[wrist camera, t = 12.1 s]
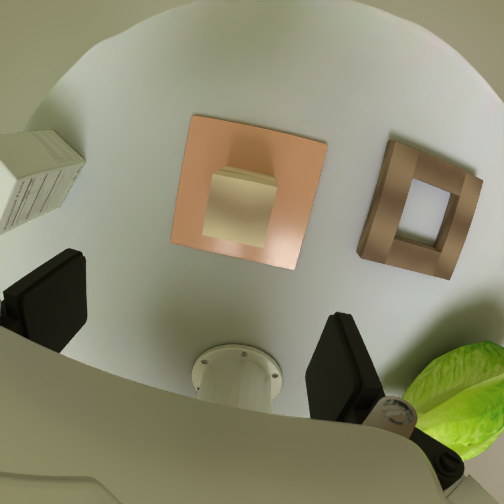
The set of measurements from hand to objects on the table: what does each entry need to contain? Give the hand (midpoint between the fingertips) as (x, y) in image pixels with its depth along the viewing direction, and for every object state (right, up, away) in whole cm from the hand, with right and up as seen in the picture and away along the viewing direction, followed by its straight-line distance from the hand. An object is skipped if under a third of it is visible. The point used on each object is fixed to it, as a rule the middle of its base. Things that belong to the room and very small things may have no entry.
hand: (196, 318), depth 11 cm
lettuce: (+31, -16, +29) cm, 46 cm away
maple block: (+1, +8, +21) cm, 22 cm away
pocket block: (+21, +7, +21) cm, 31 cm away
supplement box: (-22, +13, +21) cm, 33 cm away
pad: (+1, +8, +21) cm, 23 cm away
